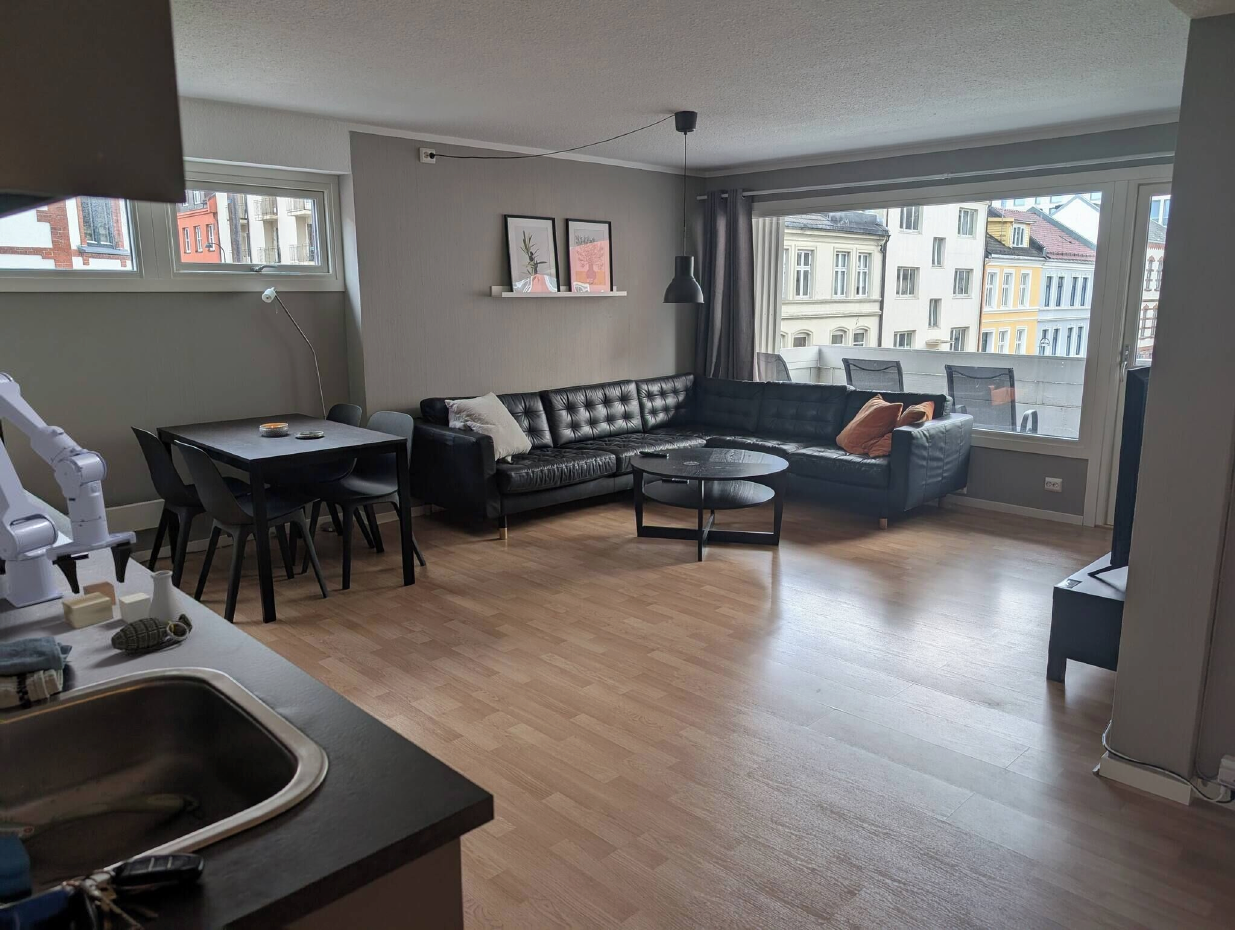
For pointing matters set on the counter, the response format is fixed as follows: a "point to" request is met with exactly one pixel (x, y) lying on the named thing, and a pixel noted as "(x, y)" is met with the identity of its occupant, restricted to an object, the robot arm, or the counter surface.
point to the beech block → (87, 610)
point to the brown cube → (101, 590)
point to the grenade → (150, 634)
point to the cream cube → (134, 607)
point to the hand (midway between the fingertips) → (98, 587)
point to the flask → (165, 599)
